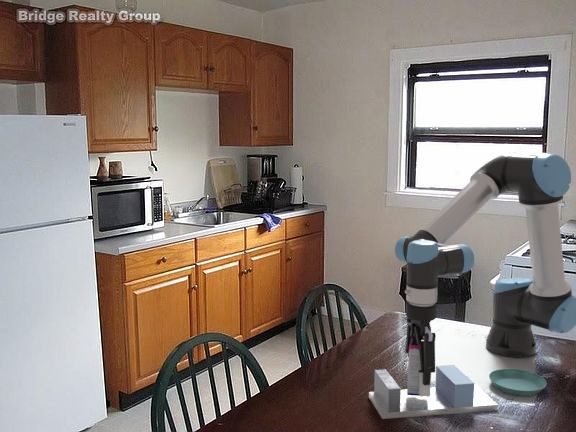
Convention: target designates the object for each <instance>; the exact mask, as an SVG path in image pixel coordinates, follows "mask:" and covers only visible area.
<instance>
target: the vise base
mask: <svg viewBox="0 0 576 432" xmlns="http://www.w3.org/2000/svg"><path fill="white" fill-rule="evenodd" d="M373 386H374V389H373V390H374V391H369V392H368V399H369V400H370V401H371V403H372V405H373V406H374V408H375V409H376V411H377V413H378V414H379V416H380V418H381V419H382V420H385V419H387V420H388V419H398V418H399V419H400V418H402V419H403V418H413V417H415V418H416V417H424V416H426V417H427V416H441V415H451V414H463V413H467V414H468V413H481V412H491V411H492V412H493V411H499V410H498V409H499V407H498V406H499V404H498V403H497V402H496V401H494V400H493V398H491V397H490V396H489V395H488V393H486V392H485V391H483V389H482V388H481V387H480V386H478V385H477V384H474V405H473V406H470V407H456V408H454V407H453V406H452V404H451V403H450V402H449V401H448V400H447V399H446V398H445V397H444V396H443V395H442V394H441V393H440V391H439V390H438V389H437V388H436V386H435V387H431V389H430V397H420V396H412V395H407V388H405V389H401V388H402V387H400V386H399V384H398V383H397V382H396V380H395V379H394V378H393V377H392V375H391V374H390V373H389V372H388V370H387V369H386V368H385V369H374V385H373Z"/></svg>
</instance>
